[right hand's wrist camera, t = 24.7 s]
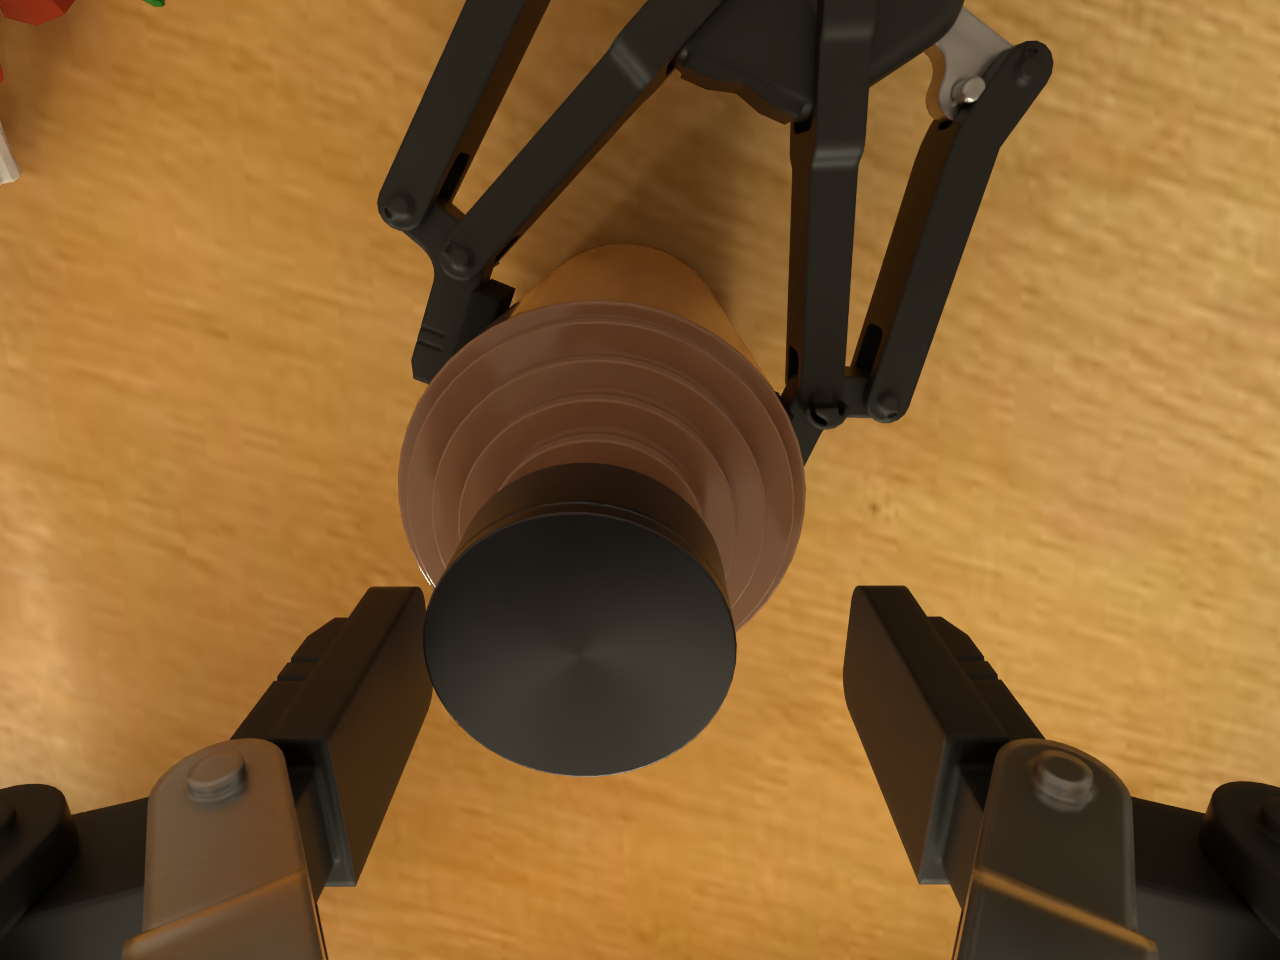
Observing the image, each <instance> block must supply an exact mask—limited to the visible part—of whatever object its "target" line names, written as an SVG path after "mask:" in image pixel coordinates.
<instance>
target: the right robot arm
mask: <svg viewBox="0 0 1280 960" xmlns="http://www.w3.org/2000/svg"><path fill="white" fill-rule="evenodd" d="M425 616H426V607H425V600H424V595H423V592H422V590H421V588H420V587H370V588H369V589H368V590H367V592H366V593H365V594H364V596H363V597H362V599H361V600H360V602H359V603H358V605H357V606H356V607H355V609H354V610H353V612H352V613H351V615H350V616H349V618H334V619H332V620H331V621H329V622H328V623H326V624H325V625H323V626H322V627H321V628H319V629H318V630H316V631H315V632H313V633H312V634H310V635H309V636H307V638H306V639H305V640H304V642H303V643H302V644H301V646H300V647H299V648H298V650H297V651H296V652H295V654H294V655H293V656H292V658H291V663H287V664H286V666H285V667H284V668H283V670H282V671H281V672H280V674H279V675H278V676H277V677H278V678H277V681H274V682H273V683H272V684H271V685H270V687H269V688H268V689H267V691H266V692H265V693H264V695H263V696H262V697H261V699H260V700H259V701H258V703H257V704H256V705H255V707H254V708H253V709H252V711H251V712H250V713H249V715H248V716H247V717H246V719H245V720H244V721H243V723H242V724H241V725H240V727H239V728H238V729H237V731H236V732H235V733H234V735H233V736H232V737H231V739H230V740H228V741H224V742H221V743H217V744H214V745H211V746H208V747H206V748H203V749H201V750H199V751H197V752H195V753H193V754H191V755H189V756H187V757H186V758H184V759H182V760H181V761H180V762H178V763H177V764H175V765H174V766H173V767H171V768H170V769H169V770H168V771H167V772H166V773H165V774H164V775H163V776H162V777H161V778H160V779H159V780H158V781H157V783H156V784H155V786H154V787H153V789H152V791H151V793H150V796H149V797H146V798H142V799H139V800H135V801H131V802H127V803H122V804H118V805H113V806H109V807H105V808H100V809H96V810H91V811H87V812H83V813H78V814H74V815H71V813H70V810H69V807H68V804H67V802H66V799H65V796H64V795H63V793H62V792H61V791H60V790H58V789H57V788H55V787H52V786H49V785H44V784H25V785H17V786H12V787H8V788H3V789H0V960H329V958H328V953H327V948H326V943H325V938H324V933H323V928H322V923H321V919H320V914H319V910H318V905H317V901H318V899H319V897H320V894H321V892H322V890H323V888H324V887H356V884H357V882H358V879H359V877H360V874H361V872H362V870H363V867H364V865H365V862H366V860H367V857H368V855H369V853H370V850H371V848H372V845H373V843H374V840H375V838H376V836H377V833H378V831H379V828H380V826H381V823H382V821H383V819H384V816H385V814H386V811H387V809H388V806H389V804H390V802H391V799H392V797H393V794H394V792H395V789H396V787H397V785H398V782H399V780H400V777H401V775H402V772H403V770H404V768H405V765H406V763H407V760H408V758H409V755H410V753H411V751H412V748H413V746H414V743H415V741H416V738H417V736H418V734H419V731H420V729H421V726H422V724H423V721H424V719H425V717H426V714H427V712H428V709H429V706H430V702H431V697H432V691H433V684H432V682H431V680H430V677H429V673H428V670H427V666H426V663H425V656H424V649H423V627H424V621H425ZM843 686H844V694H845V699H846V704H847V707H848V710H849V712H850V715H851V717H852V720H853V722H854V725H855V727H856V729H857V732H858V734H859V737H860V739H861V742H862V744H863V747H864V749H865V752H866V754H867V757H868V759H869V762H870V764H871V766H872V769H873V771H874V774H875V776H876V779H877V781H878V784H879V786H880V789H881V791H882V794H883V796H884V799H885V801H886V803H887V806H888V808H889V811H890V813H891V816H892V818H893V821H894V823H895V826H896V828H897V831H898V833H899V836H900V838H901V840H902V843H903V845H904V848H905V850H906V853H907V855H908V858H909V860H910V863H911V865H912V868H913V870H914V873H915V875H916V877H917V880H918V882H919V884H950V885H951V887H952V889H953V891H954V894H955V896H956V898H957V900H958V902H959V905H960V907H961V909H962V910H961V914H960V919H959V923H958V928H957V933H956V938H955V943H954V948H953V953H952V958H951V960H1280V788H1279V787H1276V786H1272V785H1267V784H1263V783H1256V782H1246V781H1238V782H1230V783H1226V784H1223V785H1221V786H1220V787H1218V788H1217V789H1216V790H1215V791H1214V793H1213V794H1212V797H1211V800H1210V803H1209V805H1208V808H1207V811H1206V814H1205V813H1200V812H1196V811H1192V810H1187V809H1183V808H1178V807H1174V806H1170V805H1165V804H1161V803H1156V802H1152V801H1148V800H1143V799H1139V798H1135V797H1132V796H1130V793H1129V791H1128V789H1127V787H1126V786H1125V784H1124V783H1123V781H1122V780H1121V779H1120V778H1119V777H1118V776H1117V775H1116V774H1115V773H1114V772H1113V771H1112V770H1111V769H1110V768H1109V767H1107V766H1106V765H1105V764H1103V763H1102V762H1100V761H1099V760H1098V759H1096V758H1094V757H1093V756H1091V755H1089V754H1087V753H1085V752H1083V751H1081V750H1079V749H1077V748H1074V747H1072V746H1069V745H1066V744H1063V743H1059V742H1056V741H1052V740H1046V739H1045V738H1044V736H1043V735H1042V734H1041V732H1040V731H1039V730H1038V728H1037V727H1036V726H1035V724H1034V723H1033V722H1032V720H1031V719H1030V718H1029V716H1028V715H1027V714H1026V712H1025V711H1024V710H1023V708H1022V707H1021V706H1020V704H1019V703H1018V702H1017V700H1016V699H1015V698H1014V696H1013V695H1012V694H1011V692H1010V691H1009V689H1008V688H1007V687H1006V685H1005V684H1004V683H1003V681H1002V680H998V675H997V673H996V672H995V671H994V669H993V668H992V667H991V665H990V664H989V663H988V661H984V656H983V655H982V653H981V652H980V651H979V649H978V648H977V647H976V645H975V644H974V643H973V641H972V640H971V639H970V637H969V636H968V635H967V634H966V633H964V632H963V631H961V630H960V629H958V628H957V627H955V626H954V625H952V624H951V623H949V622H948V621H947V620H945V619H944V618H942V617H927V616H926V614H925V613H924V611H923V610H922V608H921V607H920V605H919V604H918V602H917V601H916V600H915V598H914V597H913V595H912V594H911V592H910V591H909V589H908V588H907V587H905V586H857V587H856V588H855V589H854V592H853V595H852V600H851V608H850V616H849V624H848V633H847V641H846V649H845V658H844V666H843Z"/></svg>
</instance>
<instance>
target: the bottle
mask: <svg viewBox="0 0 1280 960" xmlns="http://www.w3.org/2000/svg"><path fill="white" fill-rule="evenodd" d="M570 463H602V464H609V465H615V466H619V467H623V468H627V469H631V470H634V471H636V472H639V473H642V474H644V475H647V476H649V477H651V478H653V479H655V480H657V481H659V482H660V483H662V484H664V485H666V486H667V487H669V488H670V489H671V490H673V491H674V492H676V493H677V494H678V495H680V496H681V497H682V498H683V499H684V500H685V501H686V502H687V503H688V504H689V505H691V506H692V507H693V509H694V510H695V511H696V512H697V513H698V515H699V516H700V517H701V518H702V520H703V521H704V522H705V524H706V526H707V527H708V529H709V531H710V532H711V534H712V536H713V538H714V541H715V543H716V545H717V548H718V550H719V554H720V558H721V561H722V565H723V570H724V575H725V580H726V585H727V590H728V596H729V601H730V606H731V611H732V617H733V621H734V626H735V633H736V632H737V631H738V630H739V629H740V628H742V627H743V626H744V625H745V624H746V623H747V622H748V621H750V620H751V619H752V618H753V617H754V616H755V614H756V613H757V612H758V611H759V610H760V609H761V608H762V607H763V606H764V604H765V603H766V602H767V601H768V600H769V598H770V597H771V595H772V594H773V592H774V591H775V589H776V588H777V587H778V585H779V584H780V582H781V580H782V579H783V577H784V575H785V573H786V571H787V569H788V567H789V565H790V563H791V561H792V558H793V555H794V553H795V550H796V547H797V544H798V541H799V538H800V534H801V529H802V524H803V518H804V513H805V494H806V485H805V474H804V464H803V459H802V455H801V451H800V447H799V443H798V439H797V436H796V434H795V431H794V429H793V426H792V424H791V421H790V419H789V416H788V414H787V412H786V410H785V409H784V407H783V405H782V403H781V402H780V400H779V398H778V396H777V395H776V393H775V391H774V390H773V388H772V386H771V385H770V383H769V382H768V380H767V379H766V377H765V375H764V374H763V372H762V371H761V369H760V367H759V366H758V364H757V363H756V361H755V359H754V358H753V356H752V355H751V353H750V351H749V350H748V348H747V347H746V345H745V343H744V342H743V340H742V339H741V337H740V336H739V334H738V332H737V331H736V329H735V328H734V326H733V324H732V323H731V321H730V320H729V318H728V316H727V315H726V313H725V312H724V310H723V308H722V307H721V305H720V304H719V302H718V300H717V299H716V297H715V296H714V294H713V293H712V291H711V290H710V288H709V287H708V286H707V284H706V283H705V282H704V281H703V279H702V278H701V277H700V276H699V275H698V274H697V273H696V272H695V271H694V270H693V269H691V268H690V267H689V266H687V265H686V264H685V263H683V262H682V261H680V260H679V259H677V258H675V257H673V256H671V255H670V254H668V253H665V252H662V251H660V250H657V249H654V248H650V247H646V246H642V245H633V244H612V245H606V246H601V247H596V248H593V249H590V250H587V251H584V252H582V253H580V254H578V255H576V256H574V257H572V258H570V259H569V260H567V261H566V262H564V263H563V264H561V265H560V266H559V267H558V268H556V269H555V270H554V271H553V272H552V273H550V274H549V275H548V276H547V277H546V278H544V279H543V280H542V281H541V282H540V283H539V284H537V285H536V286H535V287H534V288H533V289H531V290H530V291H529V292H528V293H527V294H525V295H524V296H523V297H522V298H521V299H520V300H518V301H517V302H516V303H515V304H514V305H512V306H511V307H510V308H509V309H508V310H506V311H505V312H504V313H503V314H502V315H501V316H499V317H498V318H497V319H496V320H495V321H493V322H492V323H491V324H490V325H489V326H487V327H486V328H485V329H484V330H483V331H482V332H480V333H479V334H478V335H477V336H476V337H474V338H473V339H472V340H471V341H470V342H468V343H467V344H466V345H465V346H464V347H463V348H462V349H461V350H460V351H458V352H457V353H456V354H455V355H454V356H453V357H452V358H451V359H449V360H448V361H447V363H446V364H445V365H444V366H443V367H442V369H441V370H440V371H439V372H438V373H437V375H436V376H435V377H434V378H433V379H432V381H431V382H430V384H429V385H428V387H427V389H426V390H425V392H424V393H423V395H422V397H421V398H420V400H419V402H418V403H417V405H416V408H415V410H414V412H413V415H412V417H411V419H410V422H409V424H408V426H407V430H406V434H405V437H404V441H403V445H402V449H401V454H400V463H399V472H398V491H399V505H400V511H401V516H402V522H403V527H404V530H405V533H406V536H407V539H408V542H409V546H410V549H411V551H412V553H413V555H414V557H415V559H416V561H417V564H418V566H419V568H420V570H421V572H422V573H423V575H424V576H425V578H426V579H427V581H428V583H429V584H430V586H431V587H432V589H433V590H434V589H435V587H436V586H437V584H438V582H439V580H440V578H441V576H442V574H443V572H444V571H445V569H446V567H447V565H448V563H449V561H450V559H451V558H452V556H453V554H454V552H455V550H456V548H457V546H458V545H459V543H460V541H461V539H462V537H463V535H464V533H465V532H466V530H467V528H468V526H469V524H470V522H471V521H472V519H473V518H474V516H475V515H476V514H477V512H478V511H479V510H480V508H481V507H482V506H483V505H484V504H485V503H486V502H487V501H488V500H489V499H490V498H491V497H492V496H493V495H494V494H496V493H497V492H498V491H500V490H501V489H502V488H504V487H505V486H506V485H508V484H510V483H512V482H513V481H515V480H517V479H519V478H520V477H522V476H525V475H527V474H530V473H532V472H535V471H537V470H540V469H544V468H548V467H552V466H556V465H562V464H570Z"/></svg>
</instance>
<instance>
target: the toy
mask: <svg viewBox="0 0 1280 960" xmlns="http://www.w3.org/2000/svg"><path fill="white" fill-rule="evenodd" d="M74 1H75V0H0V7H1V9H2V12H3V14H4V16H5V17H6V18H9V19H13V20H17V21H21V22H25V23H28V24H32V25H36V26H38V25H40V24H43V23H45V22H47V21H49V20H52V19H54V18H56V17H58V16H61V15H63V14H65V13H66V11H67V10H68V9H69V7H70V6H71V5H72V3H73V2H74ZM143 1H145V2H147V3H149V4H151V5H153V6H155V7H162V6H164V5H165V0H143ZM3 80H4V78H3V73H2V68H1V65H0V82H1V81H3ZM20 175H21V169H20V167H19V165H18V163H17V161H16V159H15V157H14V155H13V153H12V151H11V149H10V146H9V143H8V141H7V138H6V135H5V133H4V130H3V128H2V125H1V122H0V186H1V185H2V184H4V183H9V182H14V181H15V180H16V179H18V178H19V177H20Z"/></svg>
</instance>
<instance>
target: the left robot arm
mask: <svg viewBox="0 0 1280 960" xmlns="http://www.w3.org/2000/svg"><path fill="white" fill-rule="evenodd" d="M549 3H550V0H466V2H465V4H464V7H463V9H462V11H461V13H460V15H459V18H458V20H457V22H456V24H455V27H454V29H453V31H452V33H451V35H450V38H449V40H448V42H447V44H446V46H445V49H444V51H443V53H442V55H441V58H440V60H439V62H438V64H437V66H436V69H435V71H434V73H433V75H432V77H431V80H430V82H429V84H428V86H427V89H426V91H425V93H424V95H423V97H422V100H421V102H420V104H419V106H418V109H417V111H416V113H415V115H414V117H413V120H412V122H411V124H410V126H409V128H408V131H407V133H406V135H405V137H404V140H403V142H402V144H401V146H400V148H399V151H398V153H397V155H396V157H395V159H394V162H393V164H392V166H391V168H390V171H389V173H388V175H387V177H386V179H385V182H384V184H383V186H382V188H381V190H380V193H379V197H378V201H377V204H378V210H379V213H380V215H381V217H382V219H383V221H384V222H386V223H387V224H388V225H389V226H390V227H392V228H394V229H397V230H400V231H403V232H404V233H405V234H406V235H407V236H408V237H410V238H411V239H412V240H413V241H414V242H416V243H417V244H418V245H419V246H420V247H421V248H423V250H424V251H425V252H426V253H427V254H428V255H429V257H430V259H431V261H432V264H433V267H434V282H433V285H432V289H431V292H430V296H429V300H428V303H427V307H426V310H425V314H424V317H423V321H422V324H421V329H420V331H419V335H418V338H417V342H416V345H415V349H414V352H413V356H412V360H411V362H412V370H413V378H414V379H416V380H418V381H421V382H424V383H426V384H430V382H431V381H432V379H433V378H434V377H435V376H436V375H437V373H438V372H439V371H440V370H441V369H442V367H443V366H444V365H445V364H446V363H447V361H448V360H449V359H451V358H452V357H453V356H454V355H455V354H456V353H457V352H458V351H460V350H461V349H462V348H463V347H464V346H465V345H466V344H467V343H468V342H470V341H471V340H472V339H473V338H474V337H476V336H477V335H478V334H479V333H480V332H482V331H483V330H484V329H485V328H486V327H487V326H489V325H490V324H491V323H492V322H493V321H495V320H496V319H497V318H498V317H499V316H501V315H502V314H503V313H504V312H505V311H506V310H508V309H509V307H510V304H511V301H512V298H513V295H514V292H515V289H516V288H513V287H511V286H508V285H506V284H503V283H501V282H498V281H496V280H493V279H491V280H490V277H491V273H492V270H493V268H494V267H495V266H497V265H498V264H499V261H500V260H501V258H502V257H503V256H504V255H505V254H506V253H507V252H508V251H509V250H510V249H511V247H512V246H513V245H514V244H515V243H516V242H517V241H518V240H519V239H520V238H521V236H522V235H523V234H524V233H525V232H526V231H527V230H528V229H529V228H530V226H531V225H532V224H533V223H534V222H535V221H536V220H537V219H538V218H539V217H540V215H541V214H542V213H543V212H544V211H545V210H546V209H547V208H548V207H549V206H550V204H551V203H552V202H553V201H554V200H555V199H556V198H557V197H558V196H559V195H560V193H561V192H562V191H563V190H564V189H565V188H566V187H567V186H568V185H569V183H570V182H571V181H572V180H573V179H574V178H575V177H576V176H577V175H578V174H579V172H580V171H581V170H582V169H583V168H584V167H585V166H586V165H587V164H588V163H589V161H590V160H591V159H592V158H593V157H594V156H595V155H596V154H597V153H598V152H599V150H600V149H601V148H602V147H603V146H604V145H605V144H606V143H607V142H608V140H609V139H610V138H611V137H612V136H613V135H614V134H615V133H616V132H617V131H618V129H619V128H620V127H621V126H622V125H623V124H624V123H625V122H626V121H627V120H628V118H629V117H630V116H631V115H632V114H633V113H634V112H635V111H636V110H637V108H638V107H639V106H640V105H641V104H642V103H643V102H644V101H645V100H646V99H648V98H649V97H650V96H651V95H652V94H653V93H654V92H655V91H656V90H657V88H658V87H659V86H660V85H661V84H662V83H663V82H664V81H665V80H666V79H667V77H668V76H669V75H670V74H671V73H672V72H673V71H674V70H675V69H677V70H678V71H679V72H680V73H681V74H682V75H681V78H682V79H684V80H686V81H689V82H691V83H693V84H695V85H698V86H700V87H702V88H704V89H706V90H714V91H722V92H730V93H735V94H737V95H739V96H740V97H741V98H742V99H743V100H744V101H746V102H747V103H748V104H749V105H750V106H751V107H753V108H754V109H755V110H756V111H757V112H758V113H760V114H762V115H764V116H766V117H768V118H771V119H773V120H775V121H777V122H780V123H782V124H784V125H785V124H787V123H789V122H791V130H790V161H791V165H792V197H791V225H790V254H789V283H788V312H787V341H786V370H785V384H786V387H785V389H784V391H783V393H782V395H781V396H780V395H779V393H778V392H775V393H776V395H777V396H778V398H779V400H780V402H781V403H782V405H783V407H784V409H785V410H786V412H787V414H788V416H789V419H790V421H791V424H792V426H793V429H794V431H795V434H796V436H797V439H798V443H799V447H800V451H801V455H802V459H803V464H804V466H805V464H806V462H807V460H808V458H809V456H810V454H811V452H812V450H813V448H814V446H815V444H816V442H817V440H818V438H819V436H820V434H821V433H822V431H823V430H824V429H826V430H827V429H832V428H835V427H837V426H838V425H840V424H842V423H843V421H844V420H845V419H846V418H848V417H851V418H873V419H874V420H876V421H878V422H881V423H891V422H894V421H897V420H899V419H900V418H901V417H902V416H903V415H904V414H905V413H906V411H907V409H908V408H909V405H910V402H911V399H912V396H913V393H914V391H915V388H916V385H917V382H918V379H919V376H920V374H921V371H922V368H923V365H924V362H925V359H926V357H927V354H928V351H929V348H930V345H931V342H932V339H933V337H934V334H935V331H936V328H937V325H938V322H939V320H940V317H941V314H942V311H943V308H944V305H945V302H946V300H947V297H948V294H949V291H950V288H951V285H952V283H953V280H954V277H955V274H956V271H957V268H958V265H959V263H960V260H961V257H962V254H963V251H964V248H965V246H966V243H967V240H968V237H969V234H970V231H971V228H972V226H973V223H974V220H975V217H976V214H977V211H978V209H979V206H980V203H981V200H982V197H983V194H984V191H985V189H986V186H987V183H988V180H989V177H990V174H991V172H992V169H993V166H994V163H995V160H996V157H997V154H998V152H999V149H1000V147H1001V146H1002V144H1003V143H1004V141H1005V140H1006V139H1007V137H1008V136H1009V135H1010V133H1011V132H1012V130H1013V129H1014V128H1015V126H1016V125H1017V123H1018V122H1019V121H1020V119H1021V118H1022V117H1023V115H1024V114H1025V112H1026V111H1027V110H1028V108H1029V107H1030V106H1031V104H1032V103H1033V101H1034V100H1035V99H1036V97H1037V96H1038V95H1039V93H1040V92H1041V90H1042V89H1043V88H1044V86H1045V85H1046V83H1047V82H1048V80H1049V78H1050V76H1051V74H1052V68H1053V59H1052V54H1051V51H1050V50H1049V49H1048V48H1047V46H1046V45H1045V44H1043V43H1041V42H1039V41H1026V42H1023V43H1021V44H1018V45H1015V46H1013V45H1011V44H1010V43H1009V42H1007V41H1006V40H1005V39H1004V38H1002V37H1001V36H1000V35H998V34H997V33H996V32H995V31H993V30H992V29H991V28H990V27H988V26H987V25H986V24H985V23H983V22H982V21H981V20H980V19H978V18H977V17H976V16H974V15H973V14H972V13H971V12H969V11H968V10H967V9H966V8H964V7H963V3H964V0H648V1H647V2H646V3H645V4H644V5H643V7H642V8H641V9H640V10H639V11H638V12H637V13H636V15H635V16H634V17H633V18H632V19H631V20H630V21H629V23H628V24H627V25H626V26H625V27H624V28H623V30H622V31H621V32H620V33H619V35H618V36H617V37H616V39H615V40H614V42H613V43H612V45H611V47H610V48H609V50H608V51H607V53H606V54H605V55H604V56H603V57H602V59H601V60H600V61H599V62H598V63H597V64H596V66H595V67H594V68H593V69H592V70H591V71H590V72H589V74H588V75H587V76H586V77H585V78H584V79H583V80H582V82H581V83H580V84H579V85H578V86H577V87H576V88H575V90H574V91H573V92H572V93H571V94H570V95H569V97H568V98H567V99H566V100H565V101H564V102H563V103H562V105H561V106H560V107H559V108H558V109H557V110H556V111H555V113H554V114H553V115H552V116H551V117H550V118H549V120H548V121H547V122H546V123H545V124H544V125H543V126H542V128H541V129H540V130H539V131H538V132H537V133H536V134H535V136H534V137H533V138H532V139H531V140H530V141H529V142H528V144H527V145H526V146H525V147H524V148H523V149H522V151H521V152H520V153H519V154H518V155H517V156H516V157H515V159H514V160H513V161H512V162H511V163H510V164H509V165H508V167H507V168H506V169H505V170H504V171H503V172H502V174H501V175H500V176H499V177H498V178H497V179H496V180H495V182H494V183H493V184H492V185H491V186H490V187H489V188H488V190H487V191H486V192H485V193H484V194H483V195H482V196H481V198H480V199H479V200H478V201H477V202H476V203H475V205H474V206H473V207H472V208H471V209H470V210H469V211H468V213H467V214H466V215H465V214H463V213H462V212H461V211H460V210H459V209H458V208H457V207H455V206H454V205H453V204H452V201H453V199H454V197H455V195H456V193H457V191H458V189H459V187H460V185H461V183H462V181H463V179H464V177H465V175H466V173H467V171H468V169H469V167H470V164H471V162H472V160H473V158H474V156H475V154H476V152H477V150H478V148H479V146H480V144H481V142H482V140H483V138H484V136H485V134H486V132H487V130H488V128H489V126H490V123H491V121H492V119H493V117H494V115H495V113H496V111H497V109H498V107H499V105H500V103H501V101H502V99H503V97H504V95H505V93H506V91H507V89H508V87H509V85H510V82H511V80H512V78H513V76H514V74H515V72H516V70H517V68H518V66H519V64H520V62H521V60H522V58H523V56H524V54H525V52H526V50H527V48H528V46H529V44H530V41H531V39H532V37H533V35H534V33H535V31H536V29H537V27H538V25H539V23H540V21H541V19H542V17H543V15H544V13H545V11H546V9H547V7H548V5H549ZM922 52H925V54H926V55H927V56H928V57H929V59H930V61H931V63H932V68H933V75H932V81H931V83H930V86H929V89H928V91H927V94H926V107H927V110H928V112H929V114H930V115H931V116H932V117H933V118H934V120H933V122H932V124H931V125H930V127H929V129H928V131H927V133H926V135H925V137H924V139H923V141H922V143H921V146H920V148H919V151H918V154H917V156H916V159H915V162H914V165H913V168H912V171H911V174H910V178H909V181H908V184H907V187H906V190H905V194H904V197H903V200H902V203H901V206H900V209H899V213H898V216H897V219H896V222H895V225H894V229H893V232H892V235H891V238H890V241H889V245H888V248H887V251H886V254H885V257H884V260H883V264H882V267H881V270H880V273H879V276H878V280H877V283H876V286H875V289H874V292H873V295H872V299H871V302H870V305H869V308H868V311H867V315H866V318H865V321H864V324H863V327H862V330H861V334H860V337H859V340H858V343H857V346H856V350H855V353H854V356H853V359H852V362H851V366H850V367H849V366H845V359H846V344H847V329H848V313H849V298H850V283H851V267H852V252H853V236H854V221H855V206H856V190H857V175H858V165H859V161H860V159H861V157H862V154H863V150H864V146H865V137H866V123H867V108H868V93H869V88H870V87H871V86H873V85H874V84H876V83H877V82H879V81H880V80H882V79H883V78H885V77H886V76H888V75H889V74H891V73H892V72H894V71H895V70H897V69H898V68H900V67H901V66H903V65H904V64H906V63H907V62H909V61H910V60H912V59H913V58H915V57H916V56H918V55H919V54H921V53H922Z"/></svg>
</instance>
